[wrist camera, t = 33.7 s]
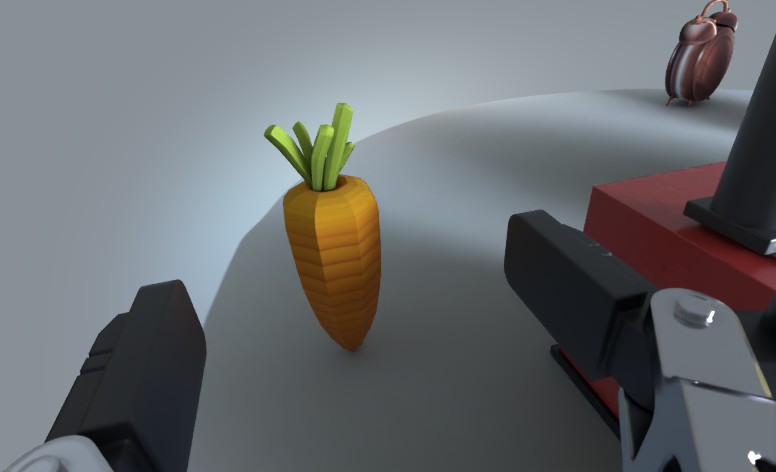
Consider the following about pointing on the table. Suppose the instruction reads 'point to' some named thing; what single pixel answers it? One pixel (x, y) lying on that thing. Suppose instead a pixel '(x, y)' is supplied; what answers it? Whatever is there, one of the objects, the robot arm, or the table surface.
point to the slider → (748, 174)
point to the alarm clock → (701, 55)
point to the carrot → (332, 229)
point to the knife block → (669, 255)
